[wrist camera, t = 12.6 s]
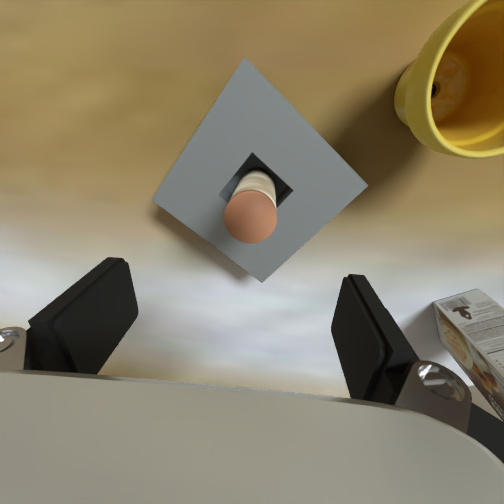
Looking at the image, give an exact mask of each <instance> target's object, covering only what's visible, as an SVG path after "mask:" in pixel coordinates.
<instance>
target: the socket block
mask: <svg viewBox="0 0 504 504" xmlns="http://www.w3.org/2000/svg"><path fill="white" fill-rule="evenodd" d="M253 167H263V168H265V169H267V170H268V171H270V172H271V174H272V175H273V177H274V181H275V195H276V212H277V223H276V227H275V229H274V231H273V233H272V234H271V235H270V236H269V237H268V238H267V239H265V240H263V241H261V242H259V243H252V244H251V243H244V242H241V241H238V240H236V239H235V238H234V237H232V236H231V235H230V233H229V232H228V231H227V229H226V227H225V224H224V211H225V208H226V206H227V204H228V203H229V201H230V199H231V197H232V195H233V193H234V192H235V190H236V188H237V186H238V184H239V182H240V180H241V179H242V177H243V175H244V173H245V172H246V171H247V170H249V169H250V168H253ZM366 187H368V185H367V184H366V183H365V182H364V180H363V179H362V178H361V177H360V176H359V175H358V174H357V173H356V172H355V171H354V170H353V169H352V168H351V167H350V166H349V165H348V164H347V163H346V162H345V161H344V160H343V159H342V157H341V156H340V155H339V154H338V153H337V152H336V151H335V150H334V149H333V148H332V147H331V146H330V145H329V144H328V143H327V142H326V141H325V140H324V139H323V138H322V137H321V136H320V135H319V133H318V132H317V131H316V130H315V129H314V128H313V127H312V126H311V125H310V124H309V123H308V122H307V121H306V120H305V119H304V118H303V117H302V116H301V115H300V114H299V113H298V112H297V111H296V109H295V108H294V107H293V106H292V105H291V104H290V103H289V102H288V101H287V100H286V99H285V98H284V97H283V96H282V95H281V94H280V93H279V92H278V91H277V90H276V89H275V88H274V86H273V85H272V84H271V83H270V82H269V81H268V80H267V79H266V78H265V77H264V76H263V75H262V74H261V73H260V72H259V71H258V70H257V69H256V68H255V67H254V66H253V65H252V64H251V62H250V61H249V60H248V59H247V58H246V57H245V58H244V59H243V61H242V62H241V64H240V65H239V67H238V68H237V70H236V71H235V73H234V75H233V76H232V78H231V79H230V81H229V82H228V84H227V85H226V87H225V88H224V90H223V91H222V93H221V94H220V96H219V97H218V99H217V100H216V102H215V103H214V105H213V106H212V108H211V110H210V111H209V113H208V114H207V116H206V117H205V119H204V120H203V122H202V123H201V125H200V126H199V128H198V129H197V131H196V132H195V134H194V135H193V137H192V138H191V140H190V141H189V143H188V145H187V146H186V148H185V149H184V151H183V152H182V154H181V155H180V157H179V158H178V160H177V161H176V163H175V164H174V166H173V167H172V169H171V170H170V172H169V173H168V175H167V176H166V178H165V179H164V181H163V183H162V184H161V186H160V187H159V189H158V190H157V192H156V193H155V195H154V196H153V198H152V199H151V200H153V201H154V202H155V203H157V204H158V205H159V206H161V207H162V208H163V209H165V210H166V211H167V212H169V213H170V214H171V215H172V216H174V217H175V218H176V219H178V220H179V221H180V222H182V223H183V224H184V225H186V226H187V227H188V228H190V229H191V230H192V231H194V232H195V233H196V234H198V235H199V236H200V237H202V238H203V239H204V240H206V241H207V242H208V243H210V244H211V245H212V246H214V247H215V248H216V249H218V250H219V251H220V252H222V253H223V254H224V255H226V256H227V257H228V258H230V259H231V260H232V261H234V262H235V263H236V264H237V265H239V266H240V267H241V268H243V269H244V270H245V271H247V272H248V273H249V274H251V275H252V276H253V277H255V278H256V279H257V280H259V281H260V282H261V283H262V282H264V281H265V280H266V279H267V278H268V277H269V276H270V275H271V274H272V273H273V272H274V271H276V270H277V269H278V268H279V267H280V266H281V265H282V264H283V263H284V262H285V261H287V260H288V259H289V258H290V257H291V256H292V255H293V254H294V253H295V252H296V251H297V250H299V249H300V248H301V247H302V246H303V245H304V244H305V243H306V242H307V241H308V240H310V239H311V238H312V237H313V236H314V235H315V234H316V233H317V232H318V231H319V230H320V229H322V228H323V227H324V226H325V225H326V224H327V223H328V222H329V221H330V220H331V219H332V218H334V217H335V216H336V215H337V214H338V213H339V212H340V211H341V210H342V209H343V208H345V207H346V206H347V205H348V204H349V203H350V202H351V201H352V200H353V199H354V198H355V197H357V196H358V195H359V194H360V193H361V192H362V191H363V190H364V189H365V188H366Z"/></svg>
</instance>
